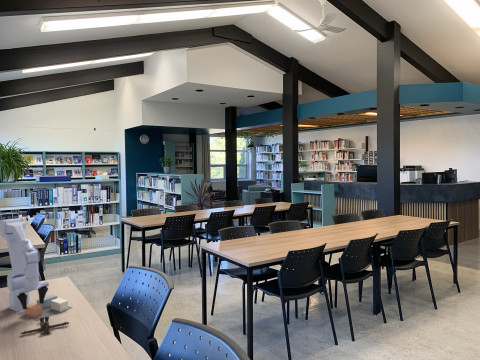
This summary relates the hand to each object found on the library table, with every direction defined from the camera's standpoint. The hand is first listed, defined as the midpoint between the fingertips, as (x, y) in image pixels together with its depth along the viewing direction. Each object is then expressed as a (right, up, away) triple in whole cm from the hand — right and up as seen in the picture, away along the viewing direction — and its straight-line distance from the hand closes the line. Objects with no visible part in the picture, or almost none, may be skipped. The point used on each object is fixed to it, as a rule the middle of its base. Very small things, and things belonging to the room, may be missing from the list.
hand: (33, 306), depth 168 cm
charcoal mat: (+3, -4, +5) cm, 7 cm away
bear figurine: (+13, -5, -14) cm, 20 cm away
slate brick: (+1, -4, +10) cm, 11 cm away
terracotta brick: (0, -4, 0) cm, 4 cm away
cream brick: (+9, -4, +6) cm, 12 cm away
